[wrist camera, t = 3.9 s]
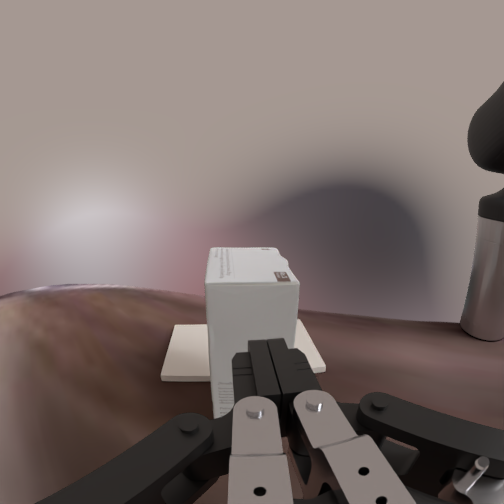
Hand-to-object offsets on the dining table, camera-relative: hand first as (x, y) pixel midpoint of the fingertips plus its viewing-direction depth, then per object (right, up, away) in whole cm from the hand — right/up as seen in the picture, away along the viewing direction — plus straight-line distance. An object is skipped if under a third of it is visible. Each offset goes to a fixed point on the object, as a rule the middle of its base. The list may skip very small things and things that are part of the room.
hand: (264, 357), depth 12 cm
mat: (-2, -8, +23) cm, 24 cm away
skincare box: (-1, -11, +12) cm, 16 cm away
